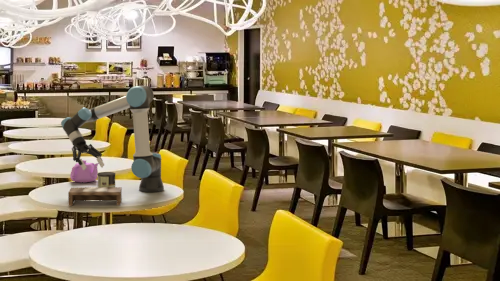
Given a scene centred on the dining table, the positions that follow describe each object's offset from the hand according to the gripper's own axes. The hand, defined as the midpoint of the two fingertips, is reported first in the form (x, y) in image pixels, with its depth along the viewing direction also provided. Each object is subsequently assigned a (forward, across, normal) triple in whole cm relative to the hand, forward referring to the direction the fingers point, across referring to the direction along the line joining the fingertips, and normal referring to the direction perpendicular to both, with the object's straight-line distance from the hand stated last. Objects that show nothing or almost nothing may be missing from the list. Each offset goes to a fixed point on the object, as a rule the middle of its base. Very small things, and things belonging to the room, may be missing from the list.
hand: (94, 167), depth 409 cm
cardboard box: (+24, +15, +2) cm, 29 cm away
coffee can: (+19, 0, -4) cm, 20 cm away
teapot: (-14, -24, -37) cm, 46 cm away
